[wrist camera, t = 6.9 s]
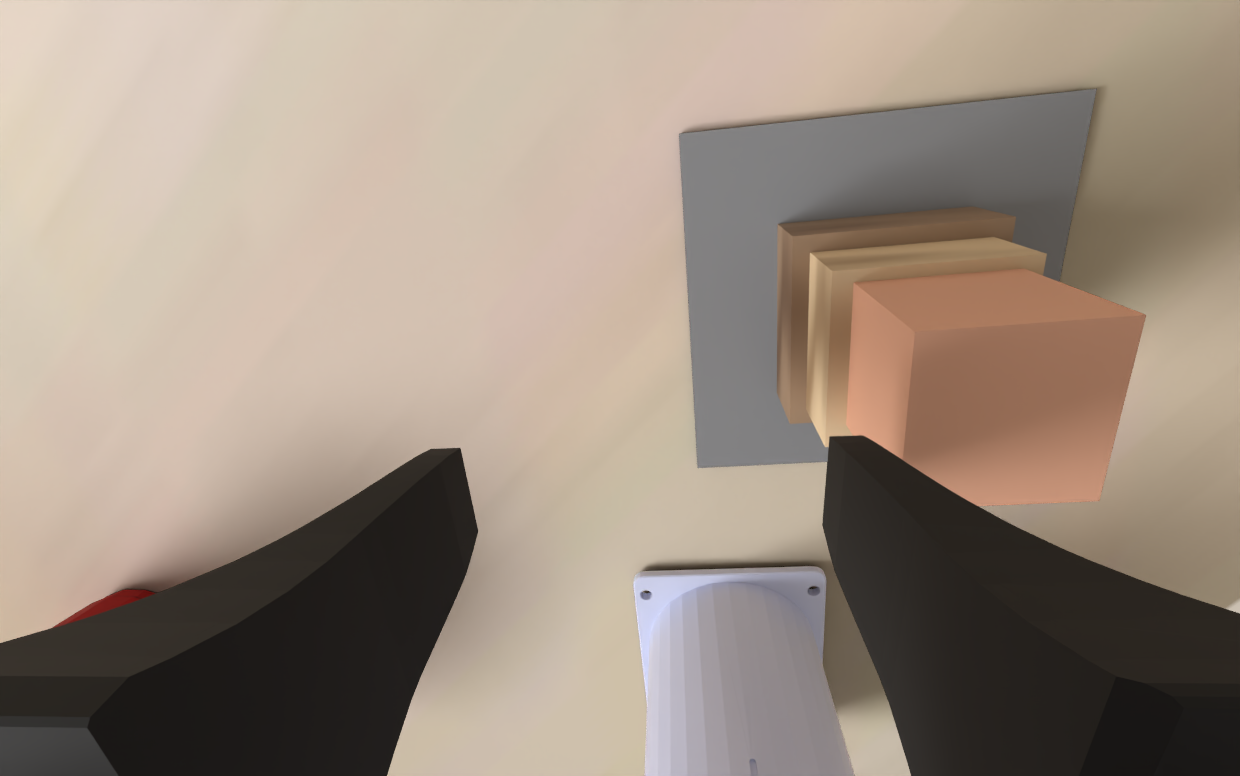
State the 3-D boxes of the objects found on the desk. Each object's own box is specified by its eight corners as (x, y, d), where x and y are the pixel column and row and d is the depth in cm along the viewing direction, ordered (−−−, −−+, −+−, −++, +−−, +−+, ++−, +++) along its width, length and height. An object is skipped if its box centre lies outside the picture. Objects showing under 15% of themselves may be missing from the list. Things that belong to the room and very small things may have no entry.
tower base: (950, 382, 21) (985, 413, 19) (776, 392, 21) (789, 423, 19) (972, 206, 18) (1015, 216, 16) (777, 224, 19) (792, 236, 17)
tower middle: (970, 399, 18) (1013, 437, 16) (806, 409, 19) (824, 447, 17) (993, 236, 16) (1047, 253, 14) (810, 252, 17) (832, 271, 15)
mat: (1022, 448, 22) (1026, 452, 22) (697, 463, 23) (697, 467, 23) (1090, 89, 17) (1096, 88, 17) (679, 134, 19) (679, 133, 18)
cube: (1023, 268, 14) (1146, 315, 11) (999, 415, 16) (1099, 501, 12) (853, 282, 15) (915, 331, 11) (846, 424, 16) (898, 509, 13)
